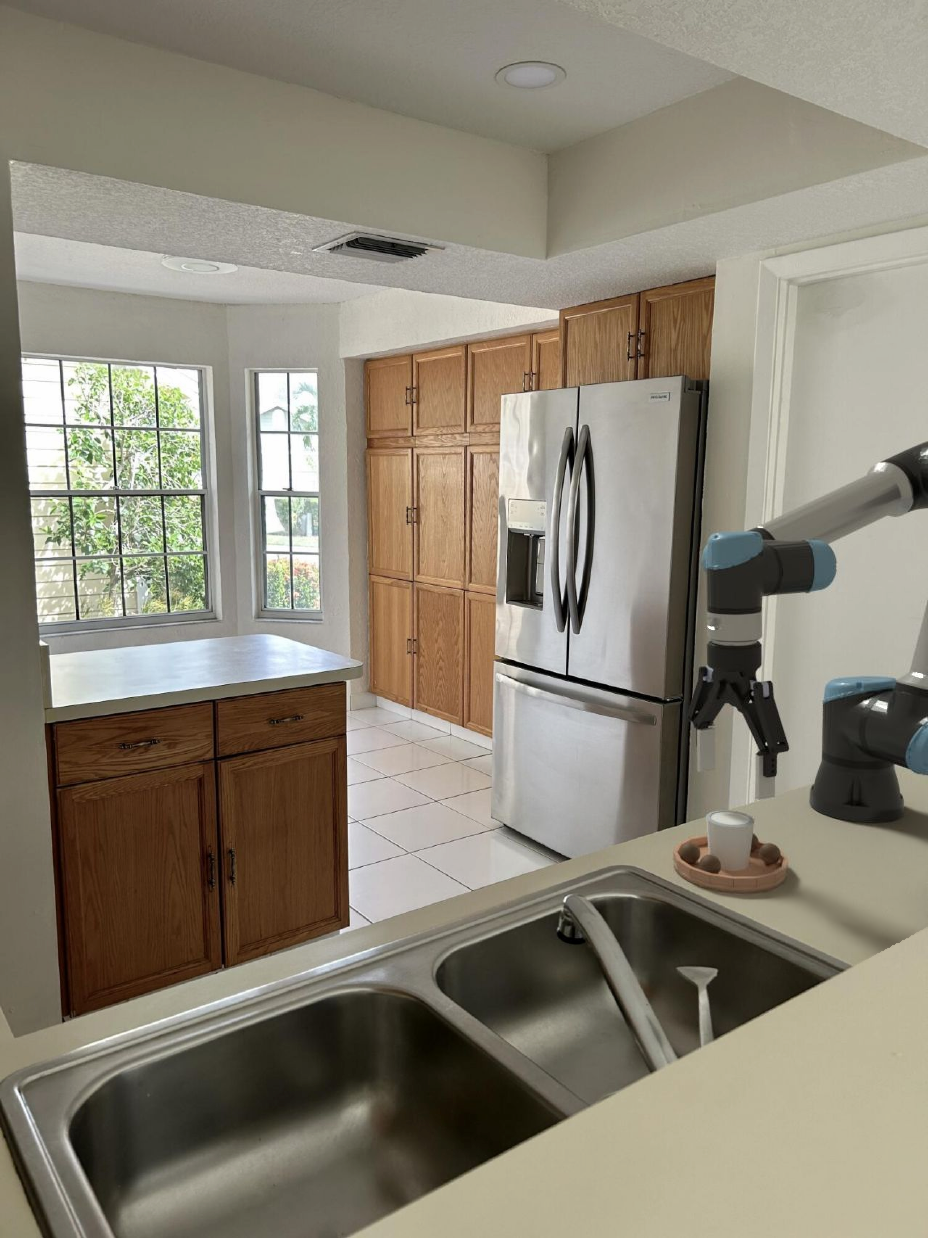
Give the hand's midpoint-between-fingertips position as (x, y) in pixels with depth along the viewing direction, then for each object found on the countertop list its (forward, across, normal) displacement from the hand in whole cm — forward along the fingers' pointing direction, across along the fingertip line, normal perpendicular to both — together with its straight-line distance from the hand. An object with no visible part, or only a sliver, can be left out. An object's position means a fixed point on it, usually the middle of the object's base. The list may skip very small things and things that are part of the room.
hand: (734, 783), depth 133 cm
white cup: (+12, 0, -1) cm, 12 cm away
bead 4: (+11, +2, +4) cm, 12 cm away
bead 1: (+10, -2, -6) cm, 12 cm away
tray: (+13, 0, -1) cm, 13 cm away
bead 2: (+10, +2, -6) cm, 12 cm away
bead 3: (+11, -2, +4) cm, 12 cm away
